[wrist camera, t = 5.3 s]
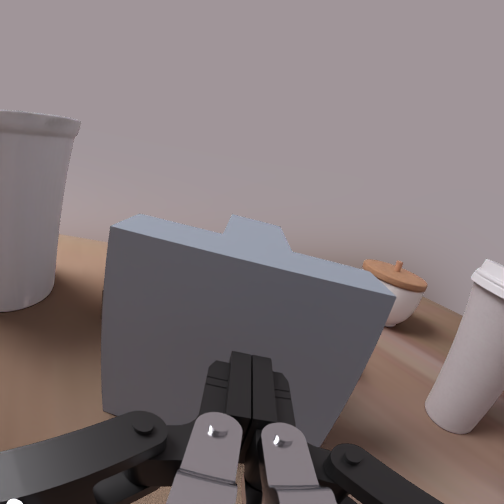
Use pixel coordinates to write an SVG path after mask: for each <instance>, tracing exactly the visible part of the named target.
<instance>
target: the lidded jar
mask: <svg viewBox="0 0 504 504" xmlns="http://www.w3.org/2000/svg"><path fill="white" fill-rule="evenodd" d="M402 265H403V262H401V261H397V262H396V265H392V264H389V263H385V262H382V261H378V260H371V259H367V260H365V261H364V263H363V266H362V267H363V268H362V270H366V271H370V272H371V273H372V274H373V275H374V276H375V277H376V278H377V279H378V280H379V281H381V282H382V283H383V284H384V285H385V286H386V287H387V288H388V289H389V290H390V291H391V292H392V293H393V294H394V295H395V296H396V300H395V302H394V305H393V307H392V309H391V312H390V314H389V317H388V319H387V321H386V324H385V326H386V327H394V326H395V325H396V324H398V323H400V322H402V321H404V320H406V319H407V318H409V317H410V316H411V315H412V314H413V312H414V311H415V309H416V308H417V306H418V305H419V303H420V301H421V299H422V296H423V294H424V292H425V290H426V288H427V283H426V282H425V281H424V280H423V279H421V278H420V277H418V276H417V275H415V274H413V273H411V272H409V271H407V270H405V269H402Z"/></svg>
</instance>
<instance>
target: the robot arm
mask: <svg viewBox="0 0 504 504" xmlns="http://www.w3.org/2000/svg"><path fill="white" fill-rule="evenodd" d="M238 463H243V464H245V471H244V474H243V476H242V478H241V493H242V504H357V503H356V502H355V501H353V500H352V499H351V498H350V497H348V495H349V494H351V495H352V496H353V497H354V498H356V499H357V500H358V501H360V502H361V503H362V504H444V503H442V502H440V501H439V500H437V499H436V498H434V497H432V496H431V495H429V494H428V493H426V492H425V491H423V490H422V489H420V488H418V487H417V486H415V485H414V484H412V483H411V482H409V481H408V480H406V479H405V478H403V477H402V476H401V475H399V474H398V473H396V472H395V471H393V470H392V469H390V468H389V467H388V466H386V465H385V464H383V463H382V462H380V461H379V460H378V459H376V458H375V457H374V456H372V455H371V454H369V453H368V452H367V451H365V450H364V449H362V448H361V447H359V446H357V445H354V444H340V445H337V446H336V447H334V448H333V450H332V451H329V450H326V449H322V448H319V447H316V446H313V445H311V444H309V443H308V442H306V438H305V436H304V434H303V433H302V432H301V431H300V430H299V429H297V428H296V424H295V418H294V412H293V406H292V400H291V393H290V387H289V382H288V380H287V379H286V378H285V376H284V375H283V374H282V373H280V372H274V371H273V370H272V360H271V358H267V357H262V356H257V355H252V356H251V354H246V353H242V352H237V351H232V352H231V356H230V360H229V363H227V362H222V361H218V360H216V361H215V362H214V363H212V364H211V365H210V366H209V369H208V373H207V378H206V382H205V387H204V391H203V396H202V401H201V406H200V410H199V415H198V416H197V418H196V419H195V420H193V421H192V422H190V423H187V424H183V425H166V424H165V422H164V421H163V420H162V419H161V418H160V417H159V416H157V415H155V414H153V413H151V412H147V411H131V412H128V413H125V414H123V415H120V416H117V417H115V418H112V419H109V420H106V421H103V422H101V423H98V424H95V425H92V426H89V427H86V428H83V429H80V430H77V431H74V432H71V433H68V434H64V435H61V436H58V437H54V438H51V439H48V440H44V441H41V442H37V443H33V444H30V445H26V446H22V447H18V448H14V449H10V450H6V451H2V452H0V504H130V503H132V502H134V501H136V500H138V499H140V498H142V497H144V496H146V495H148V494H150V493H152V492H154V491H156V490H157V489H158V488H159V487H160V486H172V487H171V490H170V493H169V496H168V499H167V502H166V504H235V503H236V496H237V484H236V483H235V480H236V473H237V466H238Z"/></svg>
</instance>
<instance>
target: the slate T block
mask: <svg viewBox="0 0 504 504" xmlns="http://www.w3.org/2000/svg"><path fill="white" fill-rule="evenodd" d="M395 300H396V296H395V295H394V294H393V293H392V292H391V291H390V290H389V289H388V288H387V287H386V286H385V285H384V284H383V283H382V282H381V281H379V280H378V279H377V278H376V277H375V276H374V275H373V274H372V273H371V272H370V271H366V270H362V269H358V268H354V267H350V266H346V265H342V264H339V263H335V262H331V261H327V260H323V259H320V258H316V257H312V256H308V255H304V254H300V253H296V252H292V250H291V248H290V246H289V244H288V242H287V240H286V238H285V236H284V233H283V231H282V229H281V227H280V226H276V225H272V224H268V223H264V222H261V221H257V220H253V219H249V218H245V217H240V216H237V215H232V216H231V218H230V220H229V222H228V225H227V227H226V229H225V231H224V233H223V234H221V233H217V232H213V231H209V230H204V229H200V228H196V227H192V226H188V225H184V224H180V223H176V222H172V221H168V220H164V219H160V218H155V217H151V216H147V215H143V214H138V215H135V216H133V217H130V218H128V219H126V220H123V221H121V222H119V223H116V224H114V225H112V226H110V233H109V240H108V249H107V258H106V267H105V278H104V291H103V307H102V332H101V380H102V404H103V411H105V412H108V413H111V414H113V415H116V416H120V415H123V414H125V413H128V412H131V411H147V412H151V413H153V414H155V415H157V416H159V417H160V418H161V419H162V420H163V421H164V422H165V424H166V425H183V424H187V423H190V422H192V421H193V420H195V419H196V418H197V416H198V415H199V410H200V406H201V401H202V396H203V391H204V387H205V382H206V378H207V373H208V369H209V366H210V365H211V364H212V363H214V362H215V361H216V360H218V361H222V362H227V363H229V360H230V356H231V352H232V351H237V352H242V353H246V354H251V356H252V355H257V356H262V357H267V358H271V360H272V370H273V371H274V372H280V373H282V374H283V375H284V376H285V378H286V379H287V380H288V382H289V387H290V393H291V400H292V406H293V412H294V418H295V424H296V428H297V429H299V430H300V431H301V432H302V433H303V434H304V436H305V438H306V442H308V443H309V444H311V445H313V446H316V447H320V446H321V444H322V443H323V441H324V440H325V438H326V436H327V435H328V433H329V431H330V430H331V428H332V427H333V425H334V423H335V422H336V420H337V418H338V416H339V415H340V413H341V411H342V409H343V408H344V406H345V404H346V402H347V401H348V399H349V397H350V395H351V393H352V391H353V390H354V388H355V386H356V384H357V382H358V380H359V378H360V376H361V374H362V372H363V370H364V368H365V366H366V364H367V362H368V360H369V358H370V356H371V354H372V352H373V350H374V348H375V346H376V344H377V341H378V339H379V337H380V335H381V333H382V330H383V328H384V326H385V324H386V321H387V319H388V317H389V314H390V312H391V309H392V307H393V305H394V302H395Z"/></svg>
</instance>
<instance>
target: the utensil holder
mask: <svg viewBox="0 0 504 504" xmlns="http://www.w3.org/2000/svg"><path fill="white" fill-rule="evenodd" d="M80 124H81V121H79V120H76V119H72V118H67V117H62V116H56V115H48V114H40V113H31V112H23V111H11V110H0V312H9V311H15V310H20V309H23V308H26V307H29V306H32V305H34V304H36V303H38V302H40V301H42V300H43V299H44V298H45V297H47V296H48V295H49V294H50V292H51V290H52V288H53V286H54V280H55V269H56V256H57V246H58V236H59V225H60V218H61V210H62V202H63V196H64V189H65V183H66V177H67V171H68V166H69V161H70V156H71V151H72V147H73V142H74V138H75V137H76V136H77V134H78V131H79V128H80Z"/></svg>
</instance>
